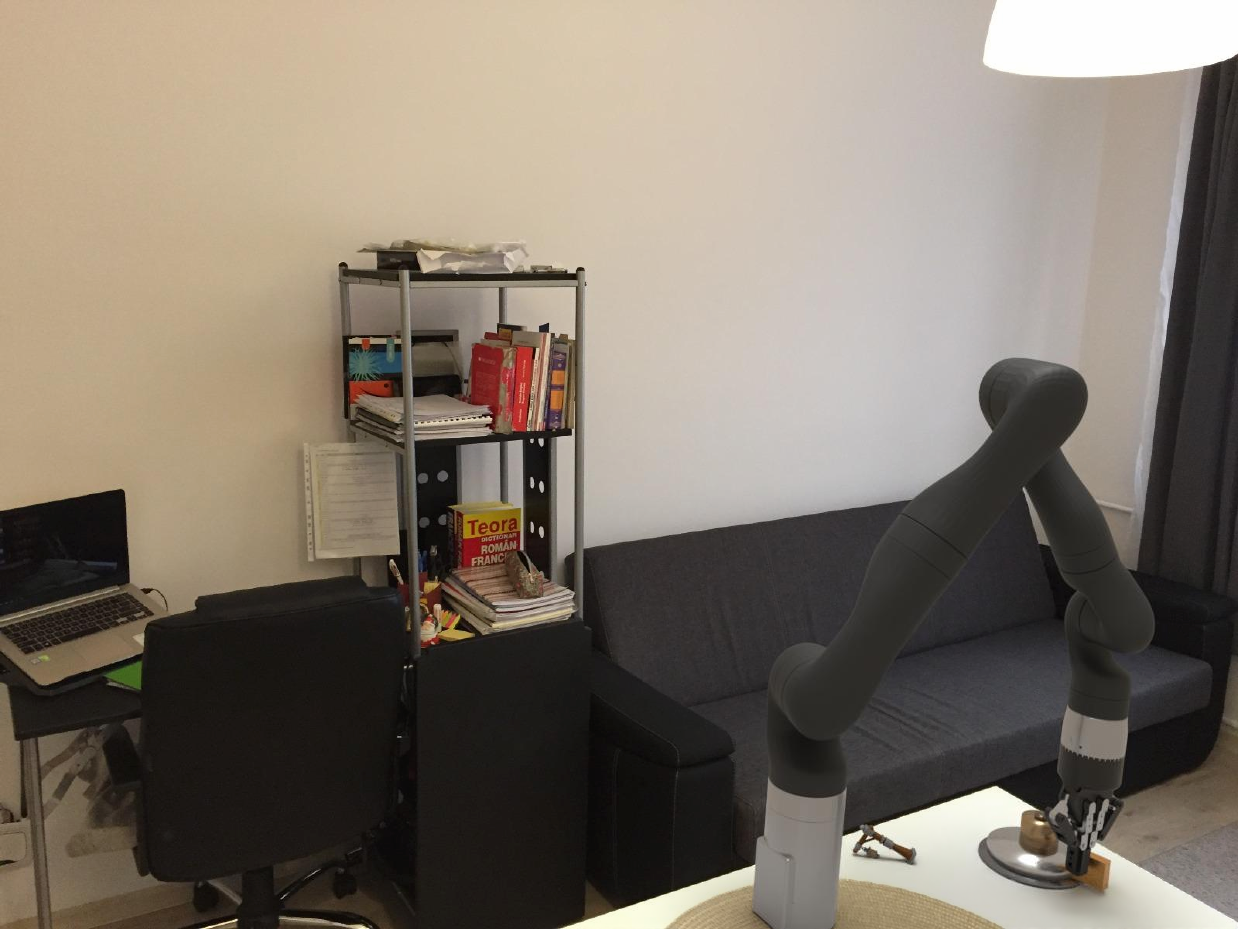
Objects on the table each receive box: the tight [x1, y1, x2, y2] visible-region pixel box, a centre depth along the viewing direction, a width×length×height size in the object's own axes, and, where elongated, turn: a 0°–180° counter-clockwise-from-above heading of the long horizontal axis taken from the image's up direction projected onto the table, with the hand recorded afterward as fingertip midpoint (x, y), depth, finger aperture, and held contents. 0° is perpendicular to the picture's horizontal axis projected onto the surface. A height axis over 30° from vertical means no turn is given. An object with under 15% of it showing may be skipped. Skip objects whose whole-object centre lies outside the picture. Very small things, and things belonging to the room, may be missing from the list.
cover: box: [1019, 809, 1059, 855], centre depth 142 cm, size 5×5×5 cm
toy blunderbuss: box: [852, 824, 918, 866], centre depth 141 cm, size 2×8×4 cm, turn 82°
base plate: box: [977, 836, 1084, 890], centre depth 142 cm, size 14×14×1 cm
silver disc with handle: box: [986, 826, 1112, 892], centre depth 140 cm, size 16×12×4 cm
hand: (1076, 872), depth 134 cm, fingers closed
